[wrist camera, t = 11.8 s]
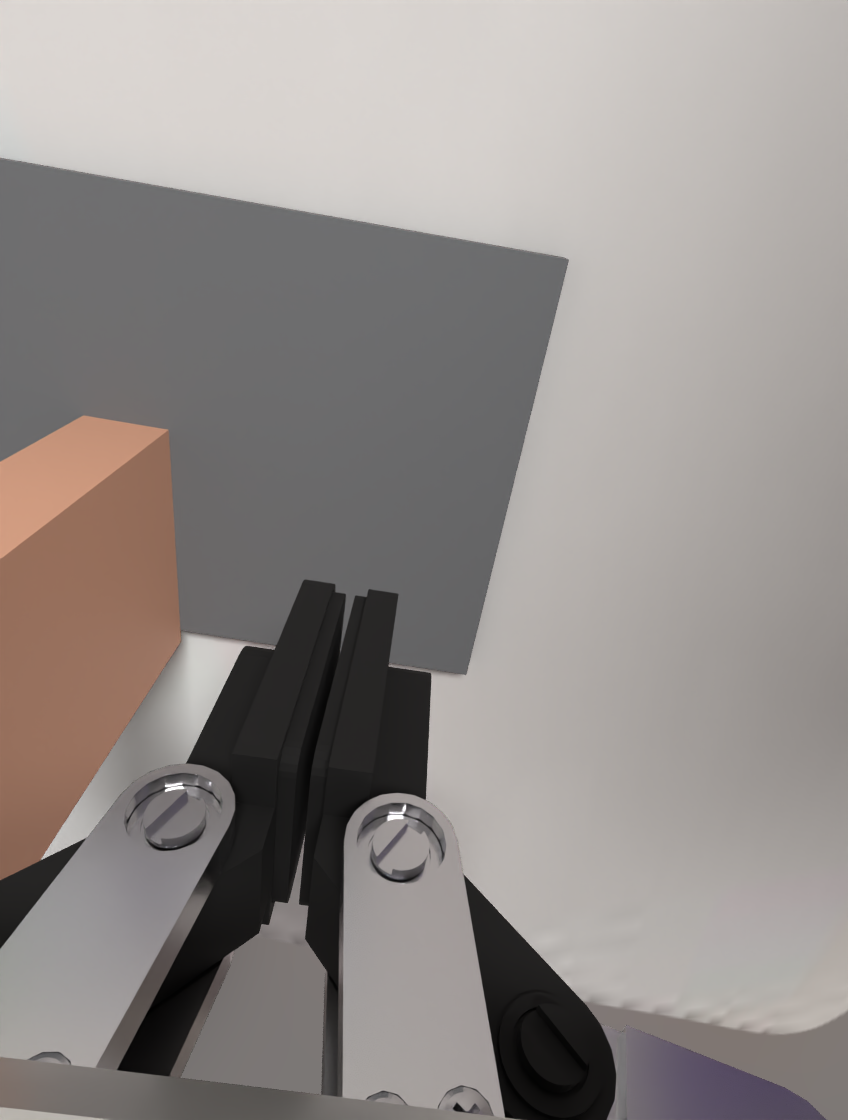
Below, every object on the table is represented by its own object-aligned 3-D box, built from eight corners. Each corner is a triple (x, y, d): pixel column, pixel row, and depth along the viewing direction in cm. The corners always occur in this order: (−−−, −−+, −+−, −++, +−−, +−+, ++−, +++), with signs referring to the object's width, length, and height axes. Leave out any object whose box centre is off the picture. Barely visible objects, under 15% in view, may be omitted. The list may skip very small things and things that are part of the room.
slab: (-115, 648, 8) (-8, 934, 12) (168, 429, 16) (181, 641, 19) (-286, 621, 8) (-126, 917, 12) (83, 415, 16) (111, 630, 19)
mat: (565, 258, 14) (568, 260, 13) (466, 662, 20) (466, 674, 19) (-339, 97, 13) (-371, 93, 13) (-157, 565, 19) (-174, 574, 19)
